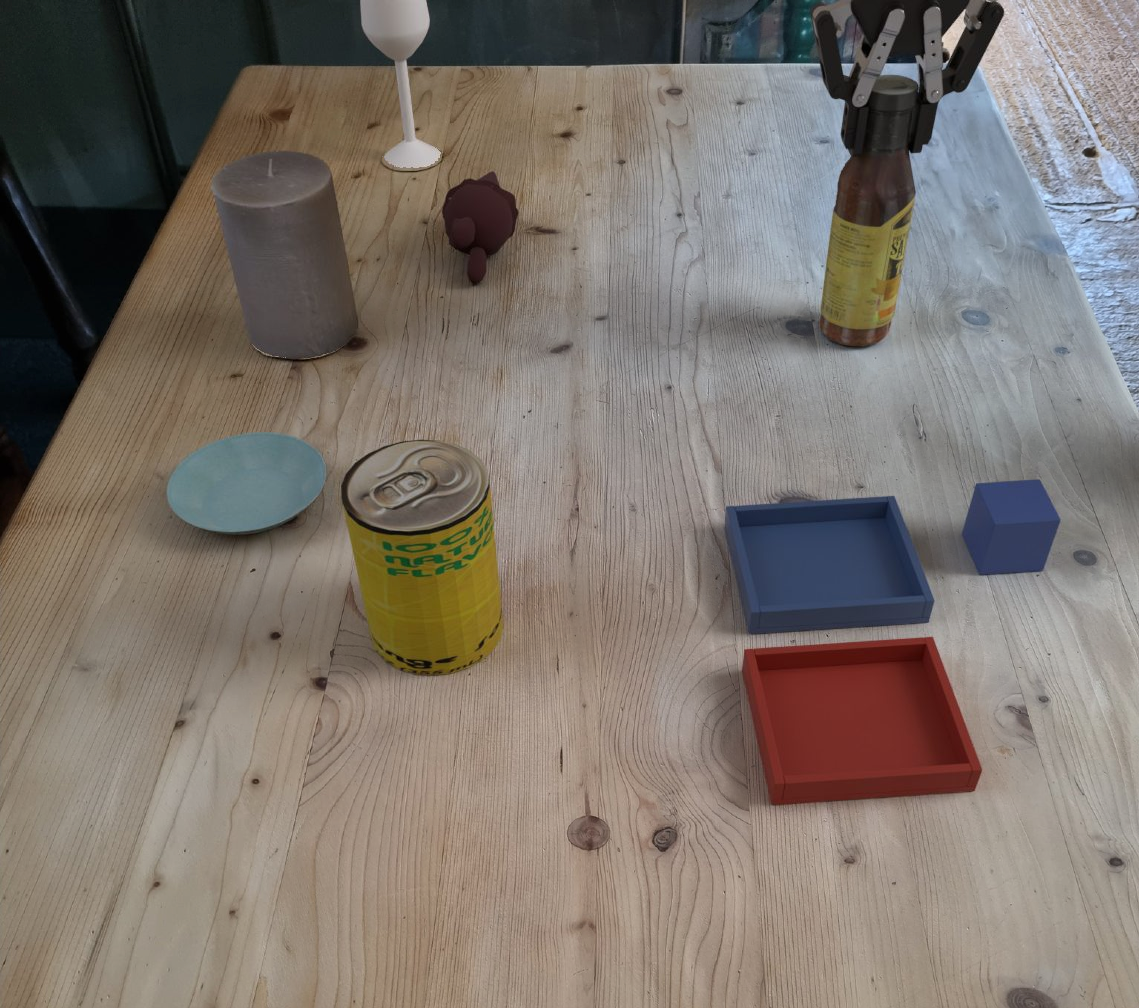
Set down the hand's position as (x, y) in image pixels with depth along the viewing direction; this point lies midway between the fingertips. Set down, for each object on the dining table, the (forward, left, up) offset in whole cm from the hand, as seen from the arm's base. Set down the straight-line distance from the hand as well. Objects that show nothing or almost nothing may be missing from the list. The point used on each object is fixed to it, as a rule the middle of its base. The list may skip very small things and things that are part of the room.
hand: (883, 149), depth 94 cm
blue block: (-4, +30, -15) cm, 34 cm away
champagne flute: (+39, -39, -15) cm, 57 cm away
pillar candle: (+48, -5, -15) cm, 51 cm away
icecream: (+32, -18, -15) cm, 40 cm away
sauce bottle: (0, 0, -15) cm, 15 cm away
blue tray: (+9, +31, -15) cm, 36 cm away
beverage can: (+36, +34, -15) cm, 52 cm away
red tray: (+10, +45, -15) cm, 49 cm away
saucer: (+50, +19, -15) cm, 56 cm away
